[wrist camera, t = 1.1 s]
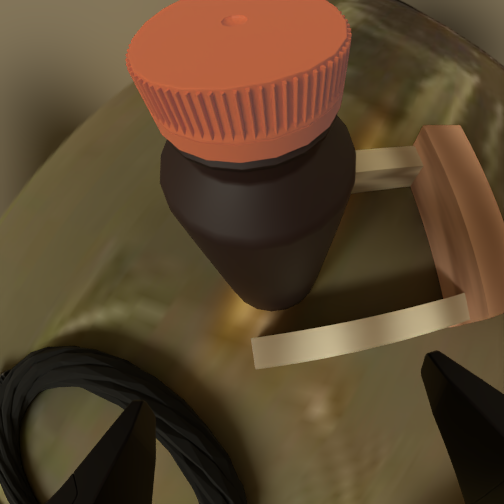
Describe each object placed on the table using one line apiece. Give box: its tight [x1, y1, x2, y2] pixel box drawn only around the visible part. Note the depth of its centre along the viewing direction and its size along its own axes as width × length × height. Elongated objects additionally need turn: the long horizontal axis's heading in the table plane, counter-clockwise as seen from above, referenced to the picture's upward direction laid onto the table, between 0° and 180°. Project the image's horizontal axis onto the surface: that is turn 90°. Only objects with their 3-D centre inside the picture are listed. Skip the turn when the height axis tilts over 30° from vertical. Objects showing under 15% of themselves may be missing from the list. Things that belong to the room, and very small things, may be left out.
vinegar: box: [126, 0, 356, 311], centre depth 15 cm, size 7×7×20 cm
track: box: [251, 125, 504, 369], centre depth 21 cm, size 20×15×6 cm
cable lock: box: [0, 346, 247, 504], centre depth 18 cm, size 28×4×30 cm
